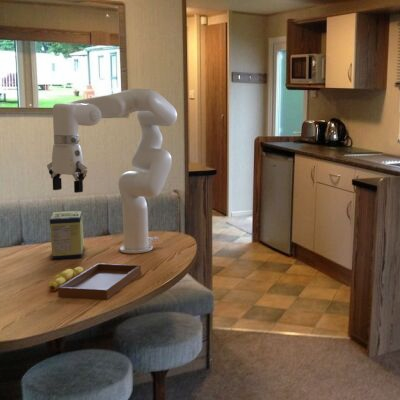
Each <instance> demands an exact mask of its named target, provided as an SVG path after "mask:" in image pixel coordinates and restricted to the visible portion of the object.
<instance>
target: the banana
mask: <svg viewBox="0 0 400 400" xmlns="http://www.w3.org/2000/svg"><path fill="white" fill-rule="evenodd" d="M84 271H85V269H84V268H83V266H80V265H79V266H76V267H74V268H66V269H64V270H62V271H61V272H59V273H58V274H55V275H54V276H53V278H52V280H51V281H50V282H49V283H48V284H47V289H48V290H49V291H51V292H55V291H58V287H59V286H61V285H63V284H64V283H66V282H68V281H69V280H71V279H73V278H74V277H76V276H77V275H79V274H81V273H82V272H84Z"/></svg>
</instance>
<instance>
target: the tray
mask: <svg viewBox="0 0 400 400" xmlns="http://www.w3.org/2000/svg"><path fill="white" fill-rule="evenodd" d="M141 274H142V266H141V264H125V263H124V264H120V263H101V262H97V263H95V264H94V265H92V266H91V267H89V268H88V269H86V270H84V272H82V273H81V274H79V275H77V276H76V277H74V278H73V279H71V280H69V281H67V282H66V283H64V284H63V285H61V286H59V287H58V289H57V296H58V298H75V299H76V298H77V299H90V300H91V299H94V300H109V299H110V298H111V297H112V296H114V295H115V294H117V292H119V291H120V290H121V289H123V288H124V287H125V286H127V285H128V284H129V283H130V282H132V281H133V280H134V279H136V278H137V277H138V276H140V275H141Z"/></svg>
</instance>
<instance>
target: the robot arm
mask: <svg viewBox="0 0 400 400" xmlns="http://www.w3.org/2000/svg"><path fill="white" fill-rule="evenodd" d="M134 112H136V117H137V120H138V123H139V125H140V129H141V136H140V139H139V141H138V144H137V145H136V148H135V150H134V153H133V156H132V159H131V165H132V167H133V168H134V169H135V170H131V171H125V172H124V173H122V174H121V175H120V176H119V178H118V190H119V194H120V198H121V199H120V200H121V211H122V232H123V233H122V234H123V235H122V237H123V245H121V246H119V251H120V252H121V253H124V254H142V253H147V252H151V251H152V250H154V245H152V243H155V242H158V241H159V236H153V237H152V236H149V213H148V212H149V210H148V204H147V200H146V198H151V199H153V198H156V197H158V196H159V195H160V194H161V193H162V191H163V189H164V186H165V184H166V181H167V179H168V176H169V174H170V172H171V169H172V163H173V160H172V159H173V158H172V155H171V153H170V152H169V151H168V150H167V149H164V148H162V146H163V142H164V139H163V134H162V132H161V130H160V127H171V126H173V125H174V124H175V123H177V120H178V113H177V110H176V108H175V107H174V105H173V104H172V103H170V102H169V101H168V100H167V99H166V98H165V97H164V96H163V95H161V94H160V93H159V92H157V91H156V90H154V89H151V88H129V89H126V90H122V91H118V92H114V93H110V94H105V95H99V96H95V97H89V98H83V99H78V100H74V101H70V102H67V103H55V104H53V106H52V123H53V124H52V125H53V145H52V154H51V162H50V163H48V164H47V165H46V167H47V170H48V173H49V175H50V178H51V179H52V190H53V191H59V190H62V188H63V187H62V177H61V176H62V175H67V176H72V177H73V179H74V180H73V191H74V193H75V194H78V193H79V194H80V193H83V192H84V180H85V178H86V177H87V173H88V170H89V169H88V167H87V166H85V165H84V158H83V151H82V147H81V145H80V144H79V142H80V138H79V126H82V127H83V126H84V127H85V126H86V127H90V126H95V125H97V124H99V122H100V121H101V119H114V118H119V117H122V116H125V115H128V114H131V113H134ZM136 170H138V171H136Z"/></svg>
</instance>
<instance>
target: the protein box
mask: <svg viewBox="0 0 400 400" xmlns="http://www.w3.org/2000/svg"><path fill="white" fill-rule="evenodd" d="M49 229H50V230H49V231H50V240H51V241H50V242H51V244H50V245H51V256H52V257H51V259H52V260H53V261H55V260H68V259H69V260H70V259H82V258H83V255H84V251H85V250H84V249H85V243H84V242H85V241H84V223H83V211H82V210H81V209H79V210H57V211H53V212H52V215H51V216H50V219H49Z"/></svg>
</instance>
